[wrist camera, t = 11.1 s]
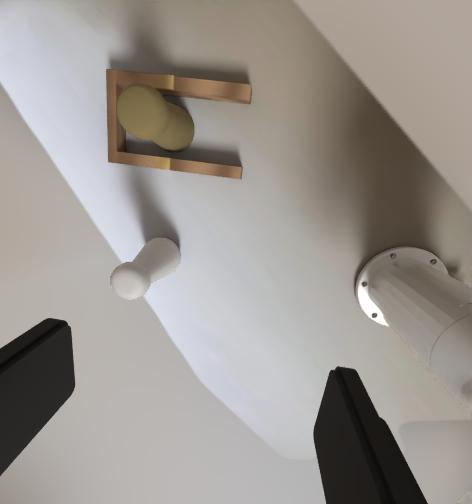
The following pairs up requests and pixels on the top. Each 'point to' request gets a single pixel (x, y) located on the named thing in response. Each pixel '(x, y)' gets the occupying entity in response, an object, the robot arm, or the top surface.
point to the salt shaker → (145, 268)
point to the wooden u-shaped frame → (175, 88)
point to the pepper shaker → (154, 118)
